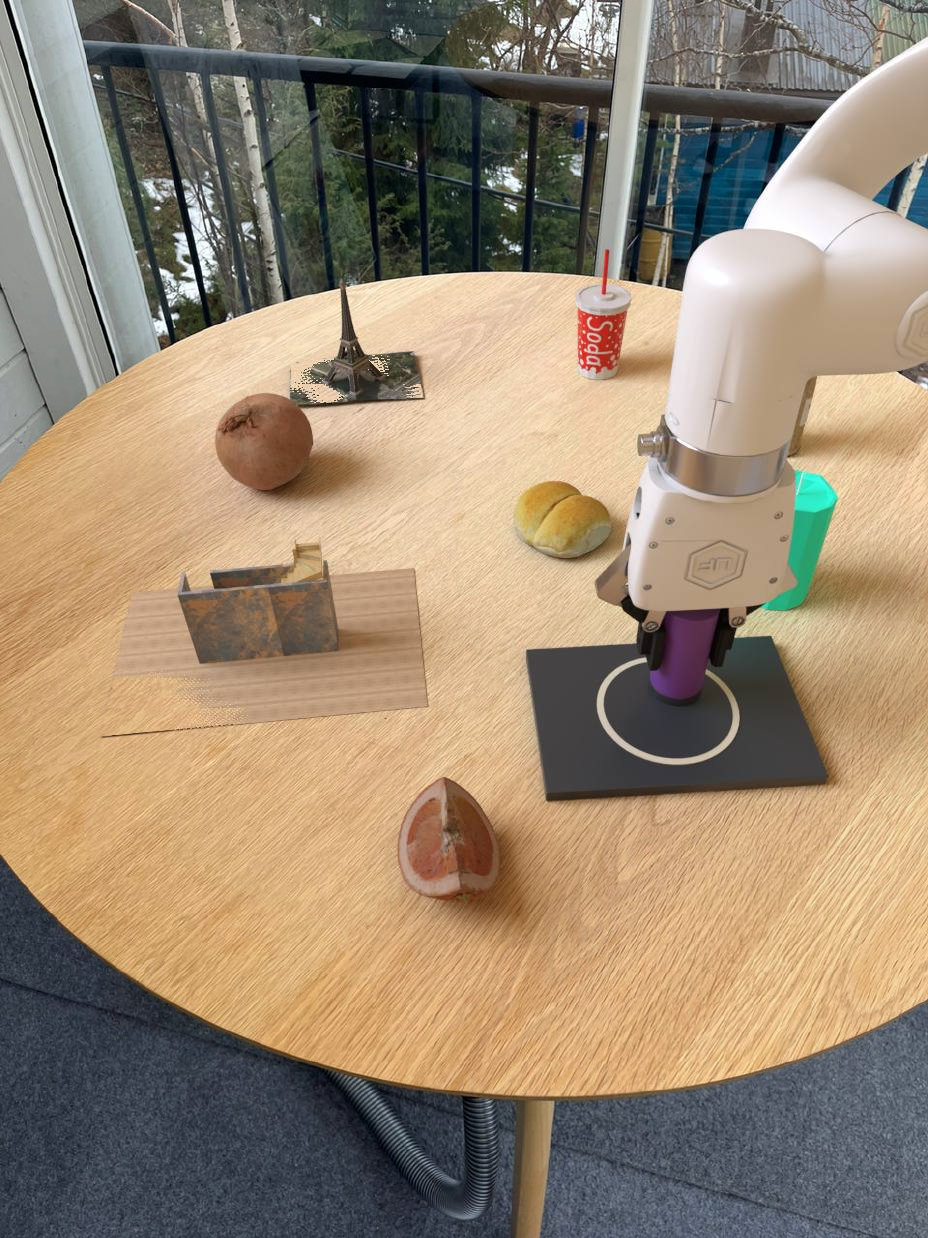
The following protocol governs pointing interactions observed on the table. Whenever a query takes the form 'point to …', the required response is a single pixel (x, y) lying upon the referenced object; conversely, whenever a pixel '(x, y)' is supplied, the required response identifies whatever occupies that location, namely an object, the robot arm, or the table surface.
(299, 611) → the ruin model on sheet
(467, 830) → the fruit slice
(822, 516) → the candle
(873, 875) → the table surface
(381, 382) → the eiffel tower figurine
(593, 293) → the beverage cup
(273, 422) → the onion
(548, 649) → the sketch board
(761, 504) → the robot arm
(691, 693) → the dot marker
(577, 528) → the bread roll
